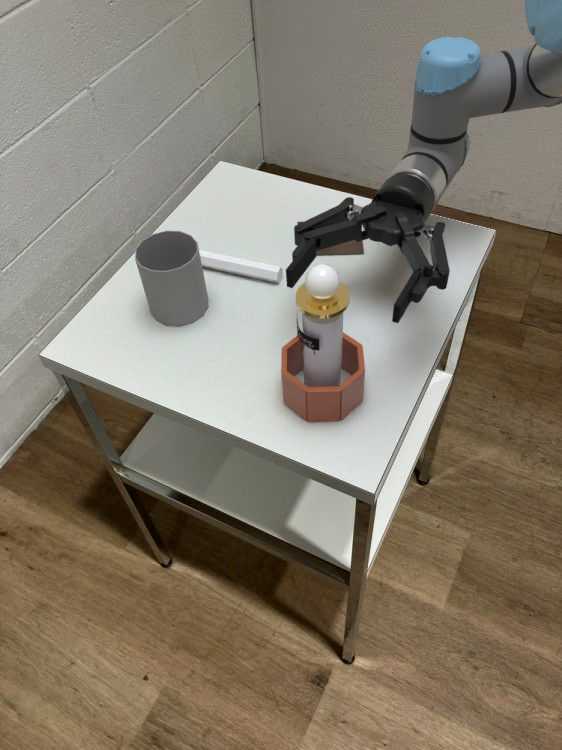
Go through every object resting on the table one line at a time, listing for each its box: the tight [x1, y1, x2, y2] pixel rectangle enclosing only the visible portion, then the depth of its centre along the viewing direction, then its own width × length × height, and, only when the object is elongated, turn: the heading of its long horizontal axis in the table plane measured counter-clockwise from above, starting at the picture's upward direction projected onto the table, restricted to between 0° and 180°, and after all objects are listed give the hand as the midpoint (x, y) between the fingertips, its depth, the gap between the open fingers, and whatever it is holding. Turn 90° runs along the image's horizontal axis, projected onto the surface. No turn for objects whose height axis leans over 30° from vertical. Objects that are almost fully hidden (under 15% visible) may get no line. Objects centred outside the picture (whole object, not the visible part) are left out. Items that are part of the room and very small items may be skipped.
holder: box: [280, 331, 366, 423], centre depth 78 cm, size 10×10×6 cm
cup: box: [134, 230, 209, 327], centre depth 87 cm, size 8×8×10 cm
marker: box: [199, 249, 283, 284], centre depth 95 cm, size 3×2×16 cm
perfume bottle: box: [295, 263, 351, 387], centre depth 72 cm, size 6×6×20 cm
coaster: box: [297, 221, 365, 256], centre depth 99 cm, size 10×8×1 cm
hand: (340, 296), depth 74 cm, fingers open, 13 cm apart
